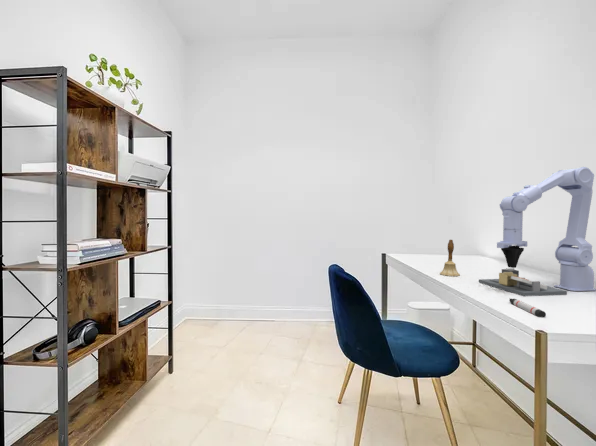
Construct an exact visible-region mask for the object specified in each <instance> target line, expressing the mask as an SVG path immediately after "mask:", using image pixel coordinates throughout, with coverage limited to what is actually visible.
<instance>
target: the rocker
mask: <svg viewBox="0 0 596 446" xmlns="http://www.w3.org/2000/svg"><path fill="white" fill-rule="evenodd" d="M524 278H525V277H520V276H519V277H516V276H511V279H514V280H517V281H520V282H522V283H525V284H529V285H532V281H531V280H529V279H527V278H525V279H524ZM547 286H548V285H546V284H542V283H540V288H543V289H546V290H547Z"/></svg>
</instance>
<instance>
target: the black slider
mask: <svg viewBox="0 0 596 446" xmlns="http://www.w3.org/2000/svg"><path fill="white" fill-rule="evenodd" d="M504 272H513V274H517V277H520V276H519V275H520V271H519V270H517V269H515V268H511V267H508V268H504V269H501V273H504Z"/></svg>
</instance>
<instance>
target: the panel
mask: <svg viewBox="0 0 596 446" xmlns="http://www.w3.org/2000/svg"><path fill="white" fill-rule="evenodd" d="M523 278H524V279H526V277H523ZM478 283H479V284H482V285H486V286H490V287H492V288H495V289H499V290H503V291H505V292H509V293H513V294H515V295H518V296H521V297H537V296H562V295H563V296H566V295H567V294H568V290H566V289H562V288H558V287H554V286H553V287H552V286H548V285H546V286H547V290H546V289H543V288H540V284H541V281H540V280H538V281H536V280H535V281H534V280H533V281H532V285H529V284H525V283H522V282H520V281H517V285H515V286H506V285H503V284H499V278H485V279H482V278H481V279H478Z"/></svg>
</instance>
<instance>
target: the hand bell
mask: <svg viewBox="0 0 596 446" xmlns="http://www.w3.org/2000/svg"><path fill="white" fill-rule="evenodd" d="M454 249H455V244H454V240H453V239H449V240H448V243H447V252H448V257H447V261H445V262H444V266H443V269H442V270H441V271H440V272H439V274H440V275H441V276H445V277H446V276H448V277H459V276H461V274H460V273H459V272H458V270H457V266H456V265H457V264H456V263H455V262H454V261H453V252H454Z"/></svg>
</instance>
